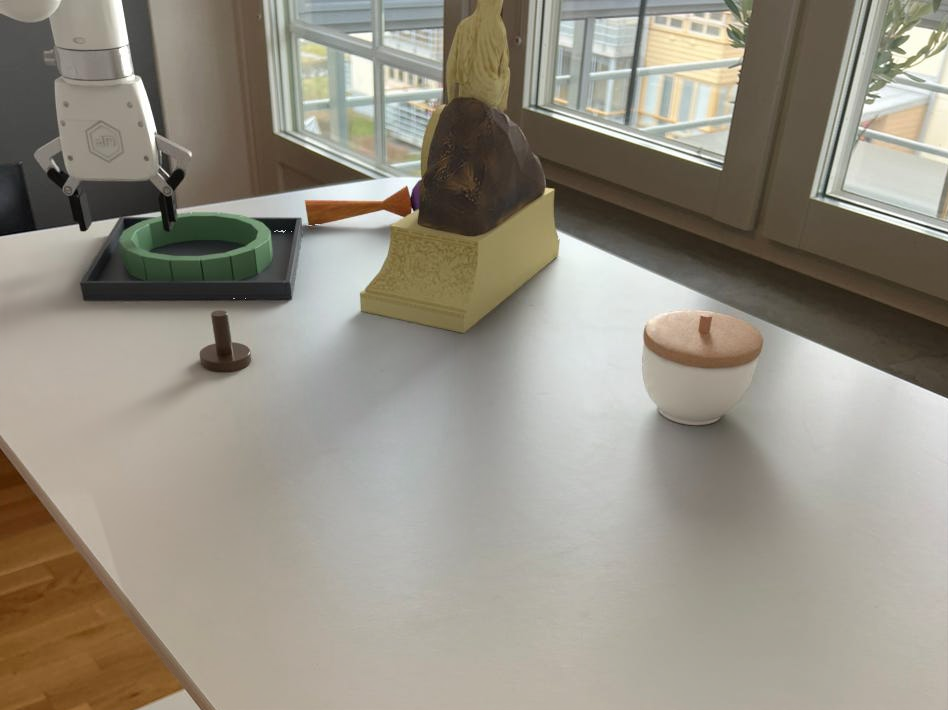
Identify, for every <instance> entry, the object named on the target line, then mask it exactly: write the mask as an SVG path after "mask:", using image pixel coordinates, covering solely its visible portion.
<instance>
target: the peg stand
mask: <svg viewBox="0 0 948 710" xmlns="http://www.w3.org/2000/svg"><path fill="white" fill-rule="evenodd" d="M210 317H211V324H212V330H213V336H214V343H211V344H208V345H207V346H204V347H203V348H201V350H200V351H199V361H200V365H201V366H202V367H203V368H204V369H206V370H209V371H211V372H218V373H228V372H235V371H239V370H242V369H244V368H246V367H248V366H249V365H250V364H251V362H252V354H251V349H250V348H249V347H248V346H247V345H245V344H243V343H240V342H234V341H232V335H231V334H232V333H231V328H230V327H231V326H230V321H229V313H228V311H225V310H223V309H222V310H221V309H217V310H213V311H212V312H211V313H210Z"/></svg>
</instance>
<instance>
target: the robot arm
mask: <svg viewBox="0 0 948 710" xmlns="http://www.w3.org/2000/svg"><path fill="white" fill-rule="evenodd" d="M122 1H123V0H0V14H1V15H3V16H6V17H8V18H11V19H13V20H15V21H19V22H21V23H22V22H23V23H39V22H42V21H44V20H46V19H48V18H49V23H50V28H51V32H52V38H53V43H54V46H53V49H50V50H44V51H43V60H44V64H45V65H46V66H53V68H56V69H57V70H58V74H59V75H61V76H59V77H57V78H56V79H54V100H55V101H54V102H55V110H56V111H55V112H56V119H57V127H58V133H59V136H57V137H56V138H54V139H52V140H51V141H49V142H47V143H45V144H44V145H42V146H41V147H39V148H38V149H37V150H36V151H35V152H34V153H33V157H34V159H35V161H37V163H38V164H39V166H40V167H41V168H42V170H43V171H44V172H45V173H46V176H47V178H48V179H49V180H50V181H52V182H53V183H54V184H55V185H56V186H57V187H59V188H60V189H61V190H62V192H63V194H64V195H66V196H67V198H68V201H69V207H70V209H71V214H72V219H73V221H74V223H78V227H79V231H80V232H84V233H85V232H87V231H88V230H89V228H90V227H91V225H92V224H93V221H92V217H91V212H90V207H89V203H88V198H87V197H88V196H87V193H86V190H84V187H82V185H81V184H82V182H147V181H150V182H151V183H152V184H153V185H154V186H155V188H157V190H159V192H160V193H159V196H158V205H159V210H160V216H161V217H162V223H163V228H164V230H165V231H166V232H171V229H172V227H173V225H174V222H177V219H178V218H177V214H178V210H177V205H176V204H177V203H176V199H175V191H176V190H177V188H178V187H179V186H180V184H181V183H182V182H183V180H184V179H185V177H186V175H187V172H188V169H189V166H190V163H191V161H192V157H193V154H192V153H193V152H192V151H191V150H189V149H187V148H185V147H184V146H181V145H180V144H178V143H176V142H174V141H172V140H170V139H168V138H166V137H164V136H162V135H160V134H158V132H157V127H156V123H155V120H154V119H155V118H154V115H153V112H152V108H151V103H150V100H149V97H148V95H147V91H146V88H145V85H144V83H143V80H142V77H141V76H139V75H135V71H134V66H133V61H132V60H133V58H132V54H131V46H130V42H129V36H128V30H127V24H126V18H125V13H124V7H123V2H122ZM60 152H61V153H62V158H63V162H64V166H65V170H66V172H67V173H66V172H65V170H63V169H62V168H61V167H60V166H58V165H57V164H56V161H55V160H54V158H53V157H54V156H55V155H58V154H59V153H60ZM162 153H163V154H165V155H167V156H169V157H171V158H173V159H175V161H176V165H175V169H174V170H173V172H172V173H171V174H169V173H167V171H166V170H165V169H164V168H163V167H162V164H163V157H162Z"/></svg>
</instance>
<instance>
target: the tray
mask: <svg viewBox="0 0 948 710" xmlns="http://www.w3.org/2000/svg"><path fill="white" fill-rule="evenodd" d="M156 217H157V216H125V217H124V216H119V218H118V219H117V221H116V222H115V224H114V226H113V227H112V229H111V231H110V233H109V234H108V236H107V238H106V239H105V240H104V242H103V244H102V246H101V247H100V249H99V250H98V252H97V253H96V256H95V257H94V259H93V260H92V262H91V264H90V265H89V267H88V268H87V270H86V272H85V273H84V275H83V277H82V278H81V279H80V282H79V286H80V291H81V296H82V299H83V301H211V300H210V299H233V298H235V299H245V298H246V299H292V300H293V296H294V290H293V289H295V283H296V277H297V271H296V270H297V269H298V265H297V262H298V263H299V259H298V256H299V257H300V252H299V249H300V250H301V246H300V243H301V244H302V240H301V236H302V237H303V234H302V231H303V222H302V221H303V220H302V217H281V216H279V217H278V216H277V217H276V216H275V217H274V216H273V217H267V216H266V217H264V216H263V217H255V216H253V217H249V216H247V217H248V218H251V219H254V220H257V221H260V222H262V223H263V224H264V225H265V226H266V227H267V228H268V229H269V230H270V231H271V240H272V250H273V258H272V262H271V265H270V266H269V267H267V268H266V269H264V270H263V271H262V272H260V273H259V274H257V275H254V276H251V277H248V278H245V279H242V280H239V281H143V280H141V279H139V278H136V277H134V276H132V275H130V274H129V273H128V271H127V270H126V268H125V267H124V265H123V261H122V256H121V251H120V246H119V238H120V236H121V234H122V233H123V231H124V230H125V229H127V228H129V227H131V226H133V225H135V224H137V223H139V222H141V221H144V220H148V219H152V218H156ZM276 230H278V231H281V230H283V231H285V230H286V231H285V232H284V233H283V232H278V231H276ZM274 231H276V232H274ZM291 231H292V232H291ZM245 246H246V245H243V244H240V243H235V242H228V241H221V240H193V241H185V242H177V243H171V244H168V245H164V246H161V247H157V248H154V249H152V250H150V251H149V252H151V253H158V254H164V255H171V256H204V255H211V254H219V253H225V252H228V251H232V250H235V249H238V248H242V247H245ZM295 276H296V277H295ZM294 282H295V283H294ZM206 299H208V300H206Z"/></svg>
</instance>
